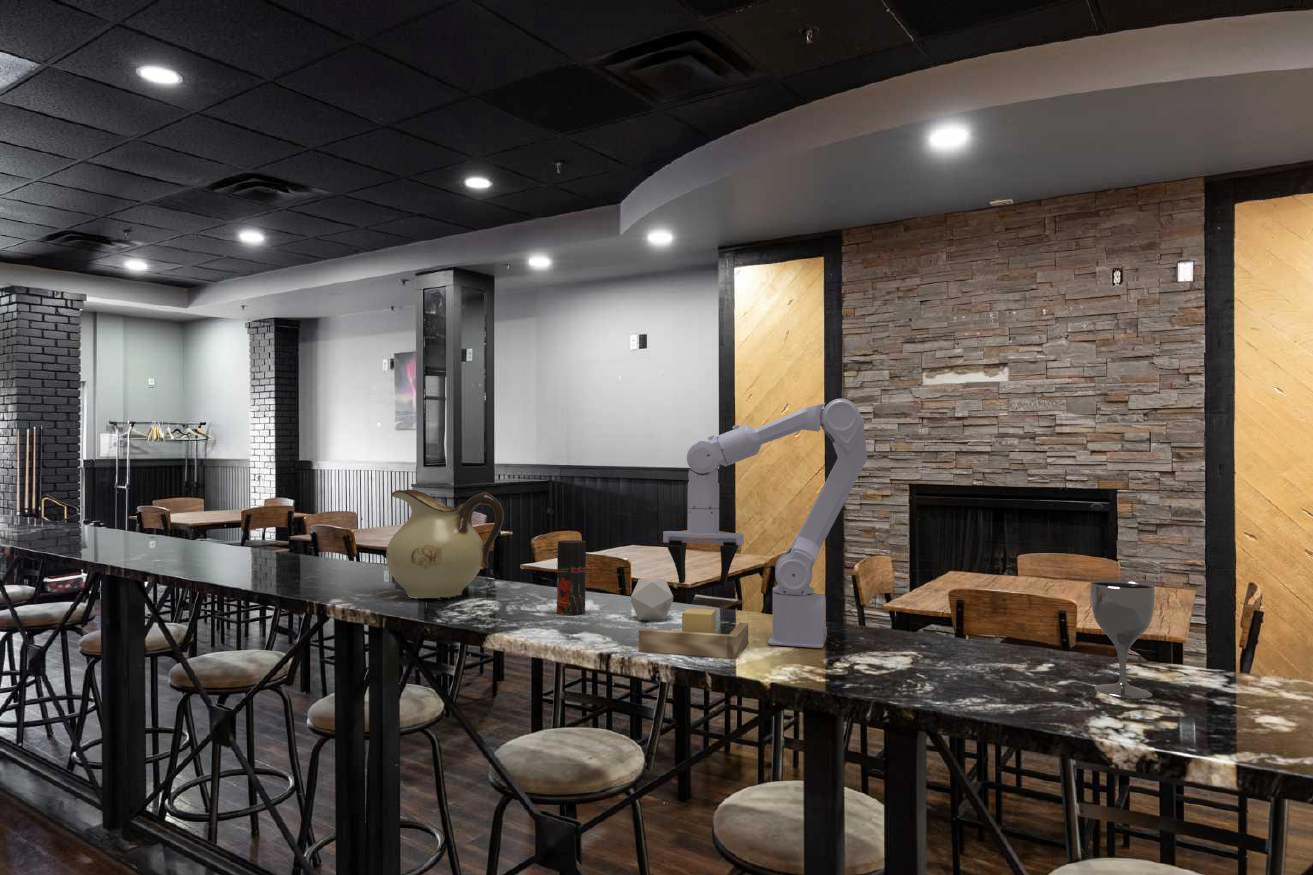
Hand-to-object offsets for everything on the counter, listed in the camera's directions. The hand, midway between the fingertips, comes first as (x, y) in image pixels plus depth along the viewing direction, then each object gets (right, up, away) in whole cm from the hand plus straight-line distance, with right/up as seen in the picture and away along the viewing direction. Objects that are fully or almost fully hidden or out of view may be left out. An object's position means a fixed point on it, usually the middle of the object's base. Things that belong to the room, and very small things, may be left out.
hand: (702, 583), depth 148 cm
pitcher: (-60, -11, +45) cm, 76 cm away
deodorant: (-26, -11, +25) cm, 38 cm away
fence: (-2, -10, -8) cm, 12 cm away
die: (-9, -11, +19) cm, 24 cm away
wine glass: (+57, -10, -33) cm, 67 cm away
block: (-1, -9, -8) cm, 12 cm away
